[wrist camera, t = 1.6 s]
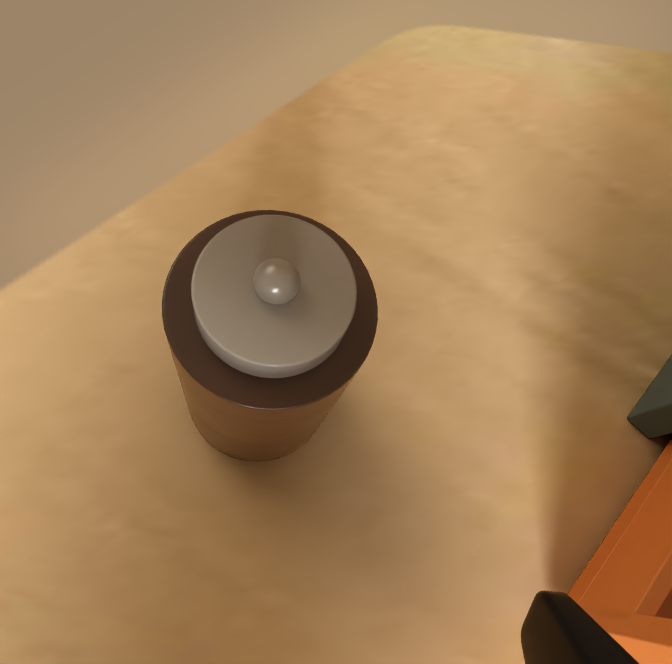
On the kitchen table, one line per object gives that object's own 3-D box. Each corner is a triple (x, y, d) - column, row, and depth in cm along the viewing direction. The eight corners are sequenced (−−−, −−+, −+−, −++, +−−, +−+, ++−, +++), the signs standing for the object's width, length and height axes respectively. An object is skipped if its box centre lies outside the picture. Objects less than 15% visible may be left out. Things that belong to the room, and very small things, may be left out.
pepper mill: (308, 476, 21) (371, 418, 12) (168, 441, 21) (114, 352, 11) (339, 345, 23) (416, 202, 14) (210, 311, 23) (195, 139, 13)
